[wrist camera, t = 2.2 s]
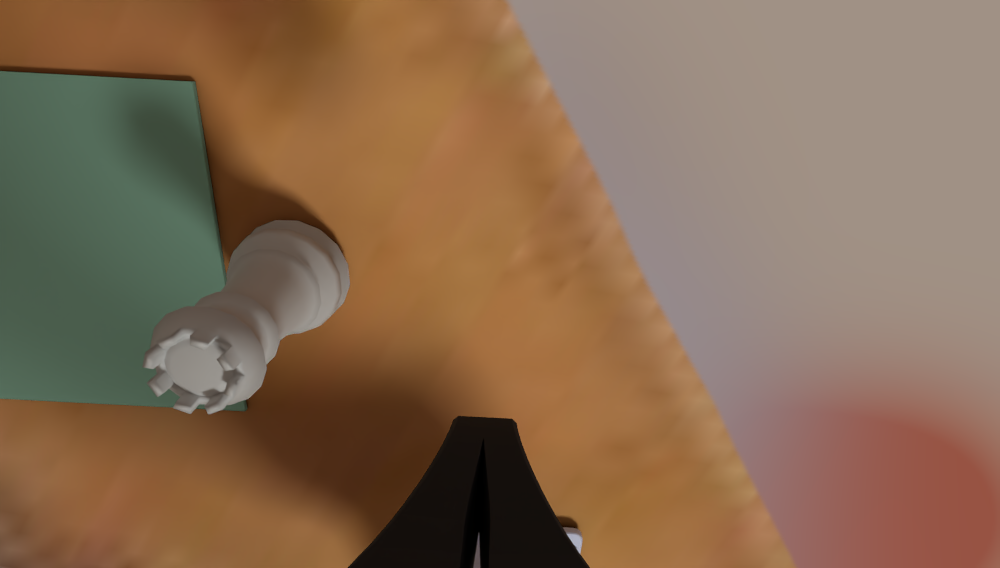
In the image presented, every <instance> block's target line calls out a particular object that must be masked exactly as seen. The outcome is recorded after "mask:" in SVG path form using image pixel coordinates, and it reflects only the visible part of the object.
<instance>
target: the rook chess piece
mask: <svg viewBox="0 0 1000 568" xmlns="http://www.w3.org/2000/svg"><path fill="white" fill-rule="evenodd" d="M349 286H350V280H349V270H348V264H347V262H346V260H345V258H344V256H343V254H342V252H341V250H340V249H339V247H338V245H337V244H336V243H335V242H334V241H332V240H331V239H330V238H329V237H328V236H327V235H326V234H325V233H323V232H322V231H321V230H320V229H318V228H315V227H313V226H310V225H308V224H305V223H303V222H300V221H295V220H274V221H272V222H269V223H267V224H264V225H262V226H259V227H257V228H255V229H254V231H253V232H252V233H251V234H250V235H249V236H247V237H246V238H245V239H244V240H243V241H242V242H241V243H240V244H239V246H238V247H237V248H236V249H235V250H234V251H233V253H232V256H231V259H230V263H229V267H228V271H227V281H226V285H225V287H224V288H223V289H222V290H221V292H215V293H213V294H210V295H208V296H205V297H202V298H201V299H200V300H199V301H198V302H197V303H196V304H195V306H186V307H183V308H180V309H178V310H175V311H173V312H170V313H167V314H166V315H165V316H164V317H163V318H162V320H161V321H160V322H159V323H158V324H157V325H156V326H155V327H154V330H153V335H152V340H151V345H150V349H149V350H148V351H146V352H145V356H144V361H143V366H142V367H144V368H149V369H154V368H155V369H156V372H157V374H156V375H155V376H154V377H153V378H151V379H150V380H149V381H148V382H147V384H148V385H149V387H150V388H151V389H152V391H153V392H154V393H155V395H156V396H157V397H158V396H160V395H162V394H163V393H165V392H166V391H167V390H168V389H170V390H171V391H172V392H174V393H175V394H177V395H178V396H179V397H180V398H179V399H178V400H177V401H176V403H175V405H174V407H173V408H174V409H177V410H180V411H183V412H186V413H189V414H191V413H192V412H193V411H194V410H195V409H196V408H197V406H198V405H199V404H205V406H204V407H205V409H206V411H207V413H208V414H211V413H214V412H217V411H220V410H223V409H224V408H225V407H226V405H232V404H235V403H238V402H240V401H243V400H246V399H249V398H250V397H251V396H252V395H253V394H254V393H255V392H256V391H257V390H258V389H259V388H260V387H261V386H262V383H263V380H264V377H265V373H266V370H267V366H266V365H267V364H268V363H269V362H270V361H271V360H272V359H273V358H274V357H275V355H276V352H277V349H278V346H279V343H280V340H281V339H283V338H284V337H285V336H287V335H291V334H299V333H302V332H305V331H308V330H310V329H313V328H316V327H318V326H320V325H322V324H323V323H324V322H325V321H326V320H327V319H328V318H329V317H330V316H331V315H332V314H333V313H334V312H335V311H336V310H337V309H338V308H339V307H340V306H341V305H342V304H343V303H344V300H345V298H346V295H347V292H348V289H349Z"/></svg>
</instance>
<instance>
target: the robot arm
mask: <svg viewBox="0 0 1000 568" xmlns="http://www.w3.org/2000/svg"><path fill="white" fill-rule="evenodd" d="M581 546H582V534H581V532H580V530H578V529H576V528H568V527H562V526H561V524H560V522H559V521H558V519H557V517H556V515H555V514H554V512H553V510H552V508H551V507H550V505H549V503H548V501H547V499H546V497H545V495H544V493H543V492H542V490H541V487H540V485H539V483H538V481H537V479H536V477H535V475H534V473H533V471H532V468H531V466H530V464H529V461H528V459H527V456H526V454H525V451H524V448H523V446H522V443H521V440H520V436H519V433H518V429H517V423H516V422H515V421H514V420H513V419H505V418H486V417H467V416H458V417H457V418H455V419H454V420H453V422H452V425H451V428H450V430H449V432H448V434H447V436H446V438H445V440H444V442H443V444H442V446H441V448H440V450H439V451H438V453H437V455H436V457H435V458H434V460H433V462H432V463H431V465H430V466H429V468H428V470H427V471H426V473H425V474H424V476H423V478H422V479H421V481H420V482H419V483H418V485H417V486H416V488H415V489H414V490H413V492H412V493H411V495H410V496H409V497H408V499H407V500H406V501H405V503H404V504H403V506H402V507H401V508H400V510H399V511H398V512H397V513H396V515H395V516H394V517H393V518H392V520H391V521H390V522H389V523H388V524H387V526H386V527H385V528H384V529H383V530H382V531H381V533H380V534H379V535H378V536H377V537H376V538H375V539H374V541H373V542H372V543H371V544H370V545H369V546H368V547H367V548H366V549H365V550H364V551H363V552H362V553H361V554H360V555H359V556H358V557H357V558H356V560H355V561H354V562H353V563H352V564H351V565H350V566H349V567H348V568H590V567H589V566H588V564H587V563H586V562H585V560H584V559H583V558H582V556H581V555H580V553H581Z"/></svg>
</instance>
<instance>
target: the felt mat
mask: <svg viewBox="0 0 1000 568" xmlns="http://www.w3.org/2000/svg"><path fill="white" fill-rule="evenodd" d="M226 281H227V278H226V272H225V265H224V259H223V253H222V247H221V240H220V234H219V228H218V222H217V215H216V209H215V203H214V197H213V190H212V184H211V178H210V171H209V165H208V159H207V153H206V146H205V140H204V134H203V128H202V121H201V115H200V109H199V102H198V96H197V90H196V84H195V82H194V81H176V80H157V79H139V78H121V77H103V76H84V75H66V74H48V73H30V72H11V71H0V399H19V400H38V401H58V402H77V403H96V404H116V405H135V406H154V407H174V405H175V403H176V401H177V400H178V399H179V398H180V397H179V396H178V395H177V394H175V393H174V392H172V391H171V390H170V389H168V390H167V391H166V392H165V393H163V394H162V395H160V396H158V397H157V396H156V395H155V393H154V392H153V391H152V389H151V388H150V387H149V385H148V384H147V382H148V381H149V380H150V379H151V378H153V377H154V376H155V375H156V374H157V372H156V369H155V368H154V369H149V368H144V367H142V366H143V361H144V356H145V352H146V351H148V350H149V349H150V345H151V340H152V335H153V330H154V327H155V326H156V325H157V324H158V323H159V322H160V321H161V320H162V318H163V317H164V316H165V315H166V314H167V313H170V312H173V311H175V310H178V309H180V308H183V307H186V306H195V304H196V303H197V302H198V301H199V300H200V299H201V298H202V297H205V296H208V295H210V294H213V293H215V292H221V290H222V289H223V288H224V287H225V285H226ZM204 406H205V404H199V405H198V406H197V408H196V409H205V407H204ZM223 410H232V411H246V410H247V403H246V400H243V401H240V402H238V403H235V404H232V405H226V407H225V408H224V409H223Z"/></svg>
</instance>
